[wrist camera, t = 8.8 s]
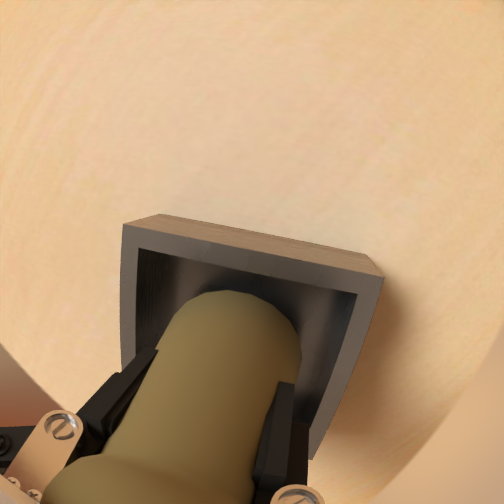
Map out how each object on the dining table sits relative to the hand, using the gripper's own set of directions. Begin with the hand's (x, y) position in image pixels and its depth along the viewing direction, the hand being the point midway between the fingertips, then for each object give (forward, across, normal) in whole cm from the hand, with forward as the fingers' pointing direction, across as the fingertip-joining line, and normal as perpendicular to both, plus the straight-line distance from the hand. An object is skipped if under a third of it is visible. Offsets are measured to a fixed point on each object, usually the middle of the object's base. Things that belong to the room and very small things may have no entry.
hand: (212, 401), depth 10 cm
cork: (+3, 0, 0) cm, 3 cm away
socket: (+6, 0, 0) cm, 6 cm away
